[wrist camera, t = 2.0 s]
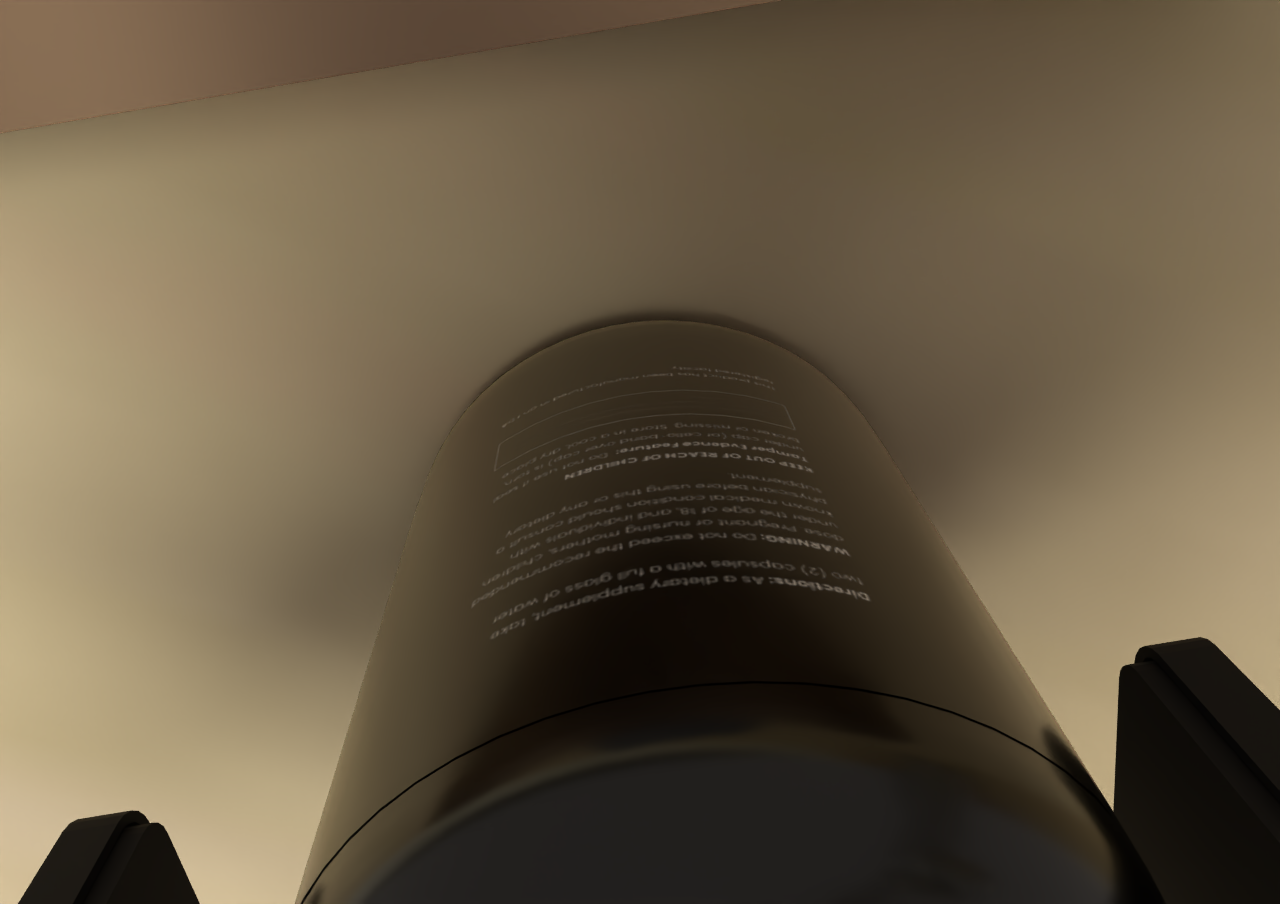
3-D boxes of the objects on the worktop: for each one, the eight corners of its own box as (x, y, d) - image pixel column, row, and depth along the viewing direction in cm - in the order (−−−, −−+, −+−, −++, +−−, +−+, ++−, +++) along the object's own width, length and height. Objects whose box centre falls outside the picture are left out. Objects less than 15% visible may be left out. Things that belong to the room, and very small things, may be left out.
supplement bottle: (354, 629, 15) (-215, 2165, 5) (540, 220, 13) (268, 1408, 2) (751, 774, 17) (1035, 2194, 6) (985, 431, 15) (2151, 1772, 4)
